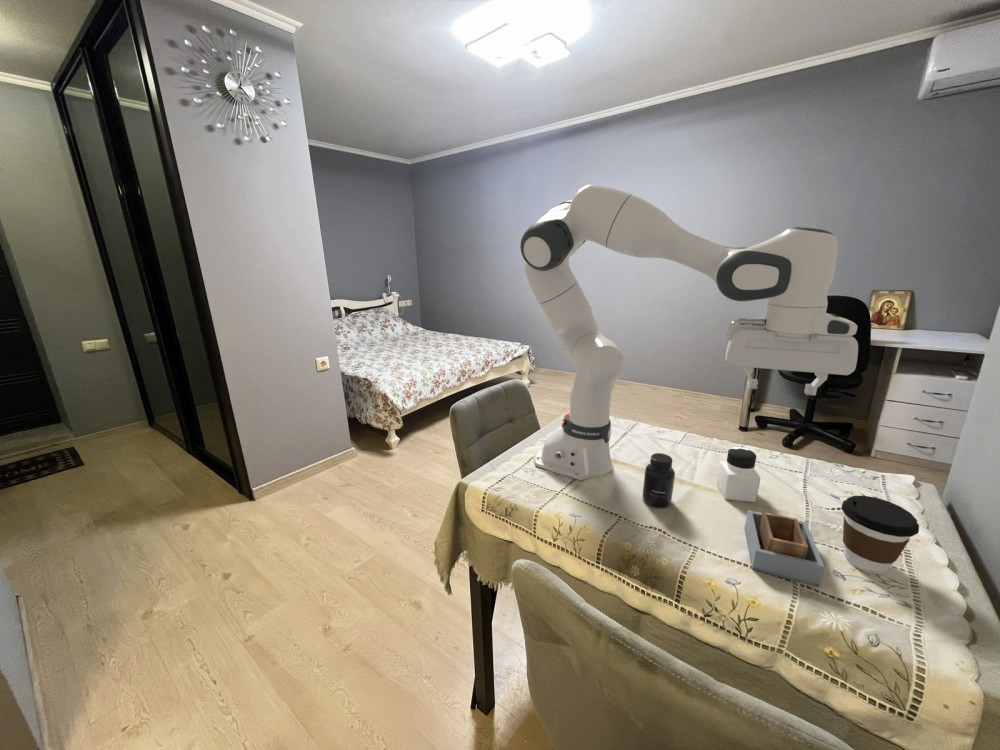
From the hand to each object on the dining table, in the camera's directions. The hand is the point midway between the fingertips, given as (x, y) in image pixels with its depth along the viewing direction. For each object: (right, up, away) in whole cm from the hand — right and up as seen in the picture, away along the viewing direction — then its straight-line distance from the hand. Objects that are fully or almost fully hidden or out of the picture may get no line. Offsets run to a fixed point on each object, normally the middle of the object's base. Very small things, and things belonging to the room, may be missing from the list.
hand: (779, 391), depth 78 cm
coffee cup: (+18, -34, +1) cm, 38 cm away
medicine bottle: (+6, -27, +24) cm, 37 cm away
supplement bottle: (-15, -28, +22) cm, 39 cm away
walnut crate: (+2, -33, +3) cm, 33 cm away
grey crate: (+2, -33, +4) cm, 34 cm away
